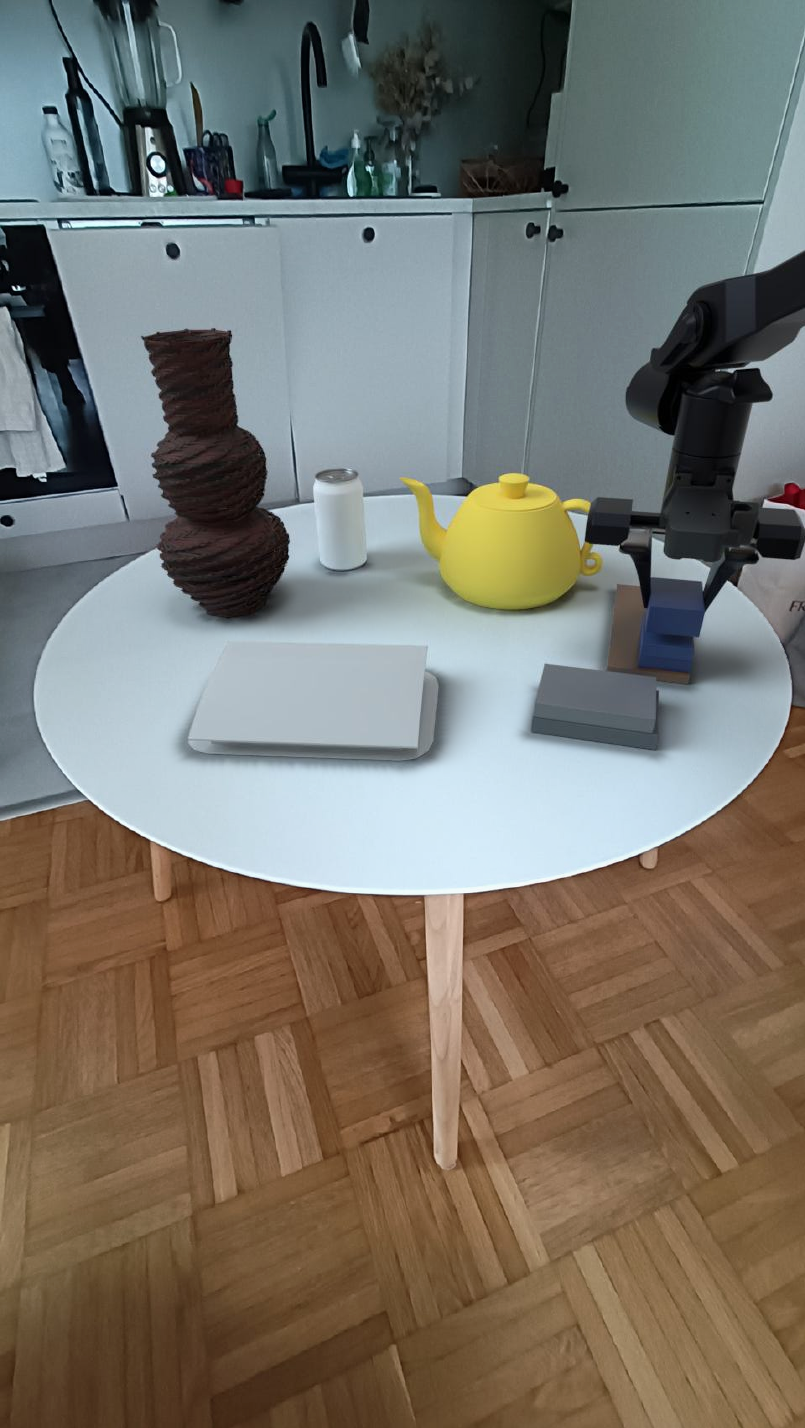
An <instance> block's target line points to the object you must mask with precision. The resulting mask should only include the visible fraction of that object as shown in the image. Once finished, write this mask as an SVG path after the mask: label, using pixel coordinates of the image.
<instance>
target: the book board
mask: <svg viewBox="0 0 805 1428" xmlns="http://www.w3.org/2000/svg"><path fill="white" fill-rule="evenodd" d="M613 604H614V605H613V614H612V619H611V620H612V621H611V628H610V635H609V636H610V637H609V645H608V654H607V662H606V670H605V671H609V672H618V673H626V674H634V675H642V676H650V677H656V682H657V681H659V682H667V683H673V684H674V683H675V684H682V685H689V682H690V678H691V672H690V673H683V672H674V671H666V670H658V669H650V668H641V667H638V656H639V638H640V630H641V625H642V620H643V615H644V613H646V608H644V607H643V601H642V595H641V589H640V585H629V584H618V583H617V584H616V588H615V595H614V603H613Z"/></svg>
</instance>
